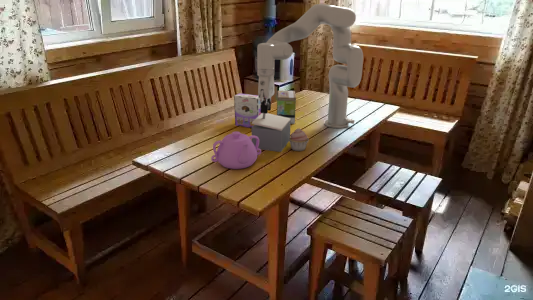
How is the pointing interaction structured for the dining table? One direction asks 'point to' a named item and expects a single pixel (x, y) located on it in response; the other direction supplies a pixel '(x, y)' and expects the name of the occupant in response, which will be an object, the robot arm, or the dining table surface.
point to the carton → (271, 137)
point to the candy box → (246, 109)
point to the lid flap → (271, 120)
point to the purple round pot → (236, 151)
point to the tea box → (286, 104)
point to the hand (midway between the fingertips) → (265, 111)
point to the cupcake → (298, 140)
